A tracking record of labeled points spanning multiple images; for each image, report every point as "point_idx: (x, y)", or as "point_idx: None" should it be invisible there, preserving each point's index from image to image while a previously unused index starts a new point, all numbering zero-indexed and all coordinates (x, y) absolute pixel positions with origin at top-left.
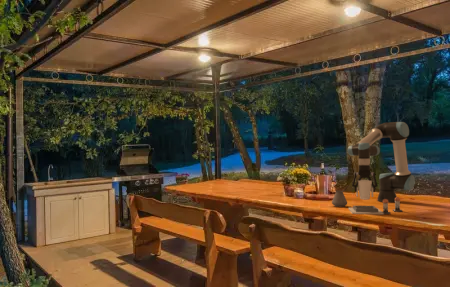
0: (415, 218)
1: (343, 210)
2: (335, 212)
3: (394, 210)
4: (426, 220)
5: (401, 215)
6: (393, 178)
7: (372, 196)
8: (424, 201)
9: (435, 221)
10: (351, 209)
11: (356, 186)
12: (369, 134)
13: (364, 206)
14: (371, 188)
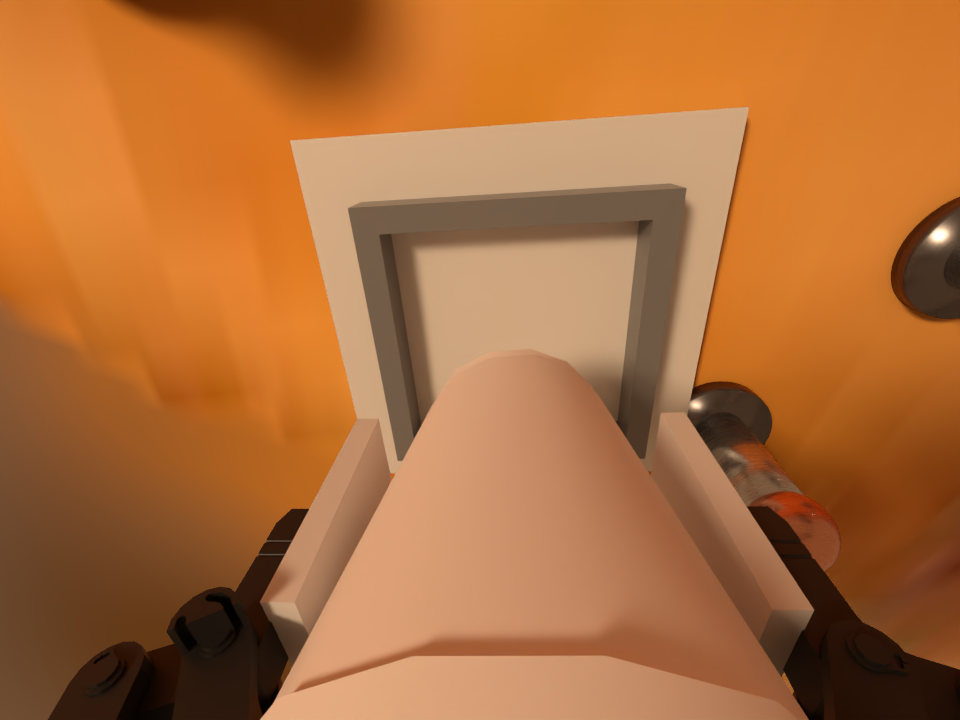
0: (871, 577)
1: (258, 277)
2: (205, 406)
3: (908, 296)
4: (905, 624)
5: (830, 484)
6: None
7: (658, 481)
8: None
9: (947, 643)
10: (349, 304)
11: (269, 705)
12: None
13: (525, 225)
14: (745, 581)
